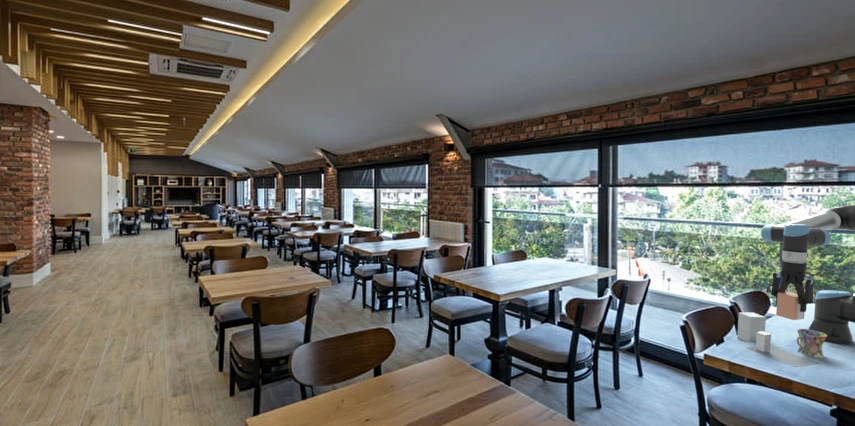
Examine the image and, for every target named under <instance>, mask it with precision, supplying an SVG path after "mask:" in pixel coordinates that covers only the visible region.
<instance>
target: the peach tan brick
mask: <svg viewBox="0 0 855 426" xmlns="http://www.w3.org/2000/svg"><path fill="white" fill-rule="evenodd" d="M798 303H800V301H799V298H798V294H797V293H794V292H789V291H786V292H782V293H778V297H777V305H776V311H775V313H776V314H775V315H776V316H778V317H782V318H785V319H787V320H788V319H789V320H791V321H797V320H798V319H796V317H797V304H798ZM805 313H806V312H804V313H803V319H802V320H804V319H805ZM798 321H799V320H798Z"/></svg>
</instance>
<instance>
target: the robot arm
mask: <svg viewBox="0 0 855 426" xmlns="http://www.w3.org/2000/svg"><path fill="white" fill-rule="evenodd" d="M834 230H846V231H855V204H854V205H852V204H851V205H843V206H835V207H832V208H828V209H824V210H821V211H819V212H817V214H814V215H811V216H807V217H804V218H801V219H800V218H799V219H796V220H793V221H790V222H785V223H781V224H777V225H775V224H765V225H764V226H763V227H762V228H761V231H760V233H761V234H760V236H761V238H762V240H764V241H767V242H772V243H781V244H782V250H781V251H782V254H781V259H782V261H781V266H780V269H781V271H780V272H773V273H772V277H773V279H772V284H771V291H770V295H771V296H773V297H775V306H777V297H778V293H782V292H787V289H788V288H789V286H790V285H791V284H792V285H793V287H794V288H795V291H796V294H798V298H799V301H800V303H798V304H797V317H796V319H798V321H799V320H804V319H803V313H804V312H805V313H806V311H807V305H810V304H813V303H814V301H815V303H814V314H813V315H814V317H813V321H812V322H811V324H810V325H809V327H808V329H809V330H814V331H818V332H822V333H824V334H826V335H827V338H826V339H825V341H826V342H830V343H835V344H843V345H845V344H852V343H853V339H854V338H853V334H852V332H851V329H850V325H849V323H853V324H855V292H854V293H853V294H852V293H851V292H849V291H846V290H845V291H844V290H833V289H826V290H825V289H823V290H822V289H821V290H818V291H816V293H815V297H814V287H813V286H814V284H815V279H813V278H809V277H807V275H806V272H807V263H806V262H808V248H811V247H812V248H813V247H817V248H819V247H824V246H827V245H828V244H830V242H831V240H832V236H831V233H830V231H834ZM781 279H782V280H781ZM803 282H804V283H803ZM805 313H804V314H805ZM825 341H824V342H825Z"/></svg>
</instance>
